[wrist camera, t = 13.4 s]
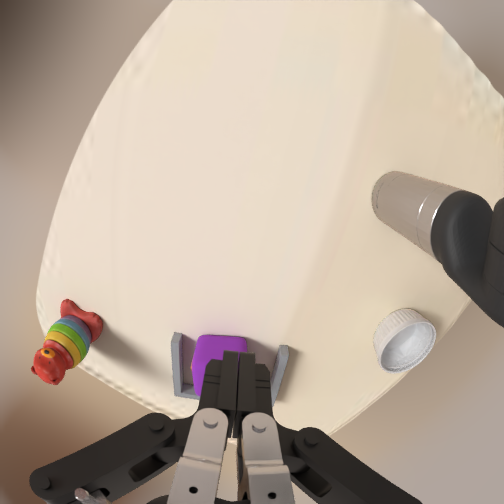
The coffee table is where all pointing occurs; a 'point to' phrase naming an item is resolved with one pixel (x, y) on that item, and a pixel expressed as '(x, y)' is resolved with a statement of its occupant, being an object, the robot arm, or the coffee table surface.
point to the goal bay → (188, 389)
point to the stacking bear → (66, 342)
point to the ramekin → (403, 340)
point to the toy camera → (212, 354)
